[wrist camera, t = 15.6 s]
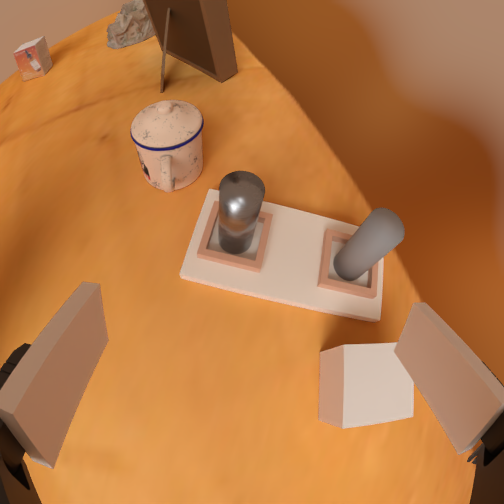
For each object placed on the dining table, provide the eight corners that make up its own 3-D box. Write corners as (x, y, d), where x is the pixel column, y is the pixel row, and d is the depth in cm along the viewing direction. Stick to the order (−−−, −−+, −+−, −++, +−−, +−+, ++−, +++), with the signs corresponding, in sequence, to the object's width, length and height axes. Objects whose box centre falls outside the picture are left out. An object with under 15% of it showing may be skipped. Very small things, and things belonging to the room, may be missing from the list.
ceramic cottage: (144, 21, 64) (139, -18, 50) (168, 34, 60) (163, -11, 46) (98, 40, 60) (88, 1, 46) (115, 56, 56) (104, 10, 42)
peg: (213, 248, 34) (213, 200, 25) (223, 219, 36) (226, 166, 26) (247, 258, 34) (259, 213, 25) (255, 228, 36) (269, 177, 26)
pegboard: (181, 278, 34) (164, 231, 23) (209, 195, 39) (208, 131, 28) (374, 322, 34) (430, 295, 23) (378, 238, 39) (422, 192, 28)
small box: (23, 82, 50) (12, 53, 40) (32, 71, 52) (22, 43, 42) (44, 75, 51) (34, 44, 41) (53, 64, 53) (44, 35, 43)
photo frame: (176, 45, 56) (174, -44, 34) (237, 75, 52) (248, -36, 29) (123, 68, 51) (107, -27, 29) (176, 104, 46) (167, -25, 24)
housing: (318, 420, 28) (342, 428, 22) (319, 352, 32) (343, 344, 25) (380, 413, 29) (413, 416, 23) (380, 350, 32) (412, 341, 26)
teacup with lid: (145, 148, 41) (131, 88, 31) (203, 143, 43) (202, 81, 32) (139, 214, 36) (115, 154, 26) (207, 208, 38) (205, 144, 27)
